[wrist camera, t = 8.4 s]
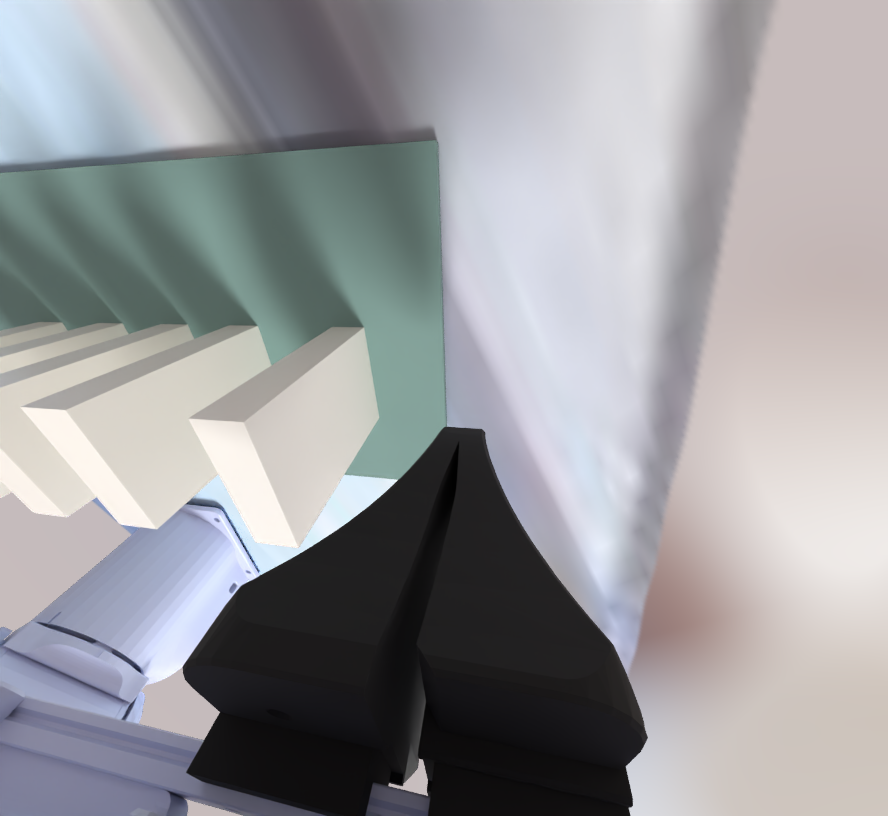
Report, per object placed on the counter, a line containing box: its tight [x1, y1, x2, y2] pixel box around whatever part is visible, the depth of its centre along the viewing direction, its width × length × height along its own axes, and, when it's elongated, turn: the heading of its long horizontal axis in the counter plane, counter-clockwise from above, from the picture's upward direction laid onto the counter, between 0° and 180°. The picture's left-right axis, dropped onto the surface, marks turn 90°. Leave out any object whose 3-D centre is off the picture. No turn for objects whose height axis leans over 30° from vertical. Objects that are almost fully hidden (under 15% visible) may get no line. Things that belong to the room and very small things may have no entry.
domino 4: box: [188, 327, 379, 548], centre depth 13 cm, size 5×2×8 cm, turn 2°
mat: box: [0, 140, 447, 480], centre depth 17 cm, size 16×28×1 cm, turn 92°
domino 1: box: [0, 323, 128, 498], centre depth 15 cm, size 5×2×8 cm, turn 2°
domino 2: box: [0, 324, 194, 517], centre depth 14 cm, size 5×2×8 cm, turn 2°
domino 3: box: [20, 325, 271, 529], centre depth 13 cm, size 5×2×8 cm, turn 2°
